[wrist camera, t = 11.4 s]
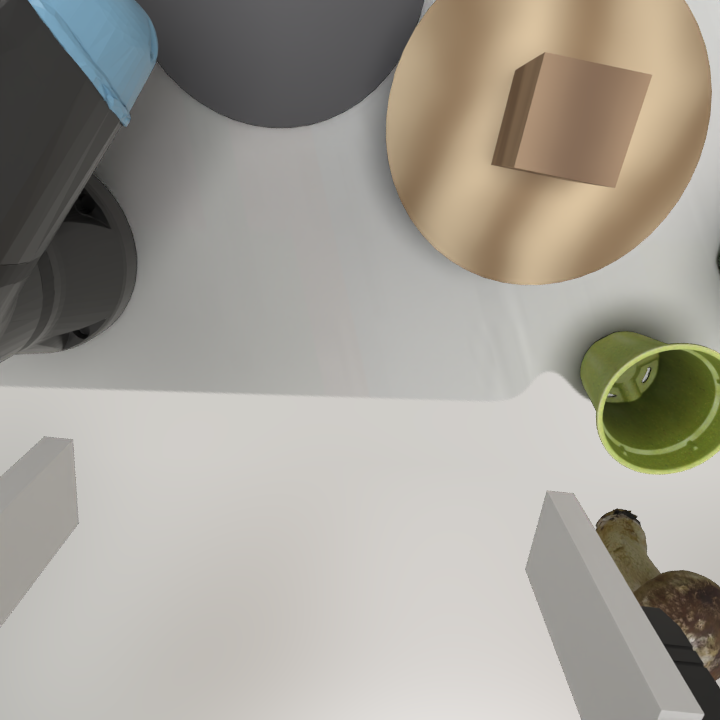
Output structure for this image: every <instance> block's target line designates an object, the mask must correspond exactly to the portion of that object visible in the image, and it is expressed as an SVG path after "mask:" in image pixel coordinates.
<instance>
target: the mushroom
mask: <svg viewBox="0 0 720 720" xmlns="http://www.w3.org/2000/svg"><path fill="white" fill-rule="evenodd" d="M630 512H631V511H627V510H623V509H615V510H613V511H611V512H608V513H606V514H605V515H604V516H602V517H601V518H600V520H599V521H598V522H597V524H596V527H597V529H596V532H597V534H598V535H599V537H600V539H601V540H602V542H603V544H604V545H605V547H606V549H607V550H608V552H609V554H610V556H611V557H612V559H613V561H614V562H615V564H616V566H617V567H618V569H619V571H620V572H621V574H622V576H623V577H624V579H625V581H626V583H627V584H628V586H629V588H630V589H631V591H632V593H633V594H634V596H635V598H636V599H637V601H638V603H639V604H640V606H645V607H654V608H660V609H661V610H662V611H663V612H665V613H666V614H667V615H668V616H669V617H670V618H671V619H672V620H673V621H674V622H675V623H677V624H678V625H679V626H680V628H681V629H682V631H683V632H684V634H685V635H686V637H687V638H688V640H689V641H690V643H691V645H692V646H693V651H696V652H697V654H698V655H699V657H700V658H701V660H702V661H703V663H704V668H707V669H708V671H709V672H710V674H711V675H712V677H713V678H714V680H715V681H716V680H717V679H719V678H720V587H719V586H718V585H717V584H716V583H714V582H713V581H711V580H710V579H708V578H706V577H704V576H702V575H699V574H697V573H693V572H690V571H684V570H680V571H669V572H665V573H662V574H661V573H660V572H659V571H658V569H657V568H656V567H655V566H654V564H653V563H652V561H651V560H650V559H649V557H648V556H647V545H646V537H645V533H644V531H643V530H642V528H641V525H640V522H639V521H638V520H637V519H636V518H637V516H636V515H633V514H631V513H630Z"/></svg>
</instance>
